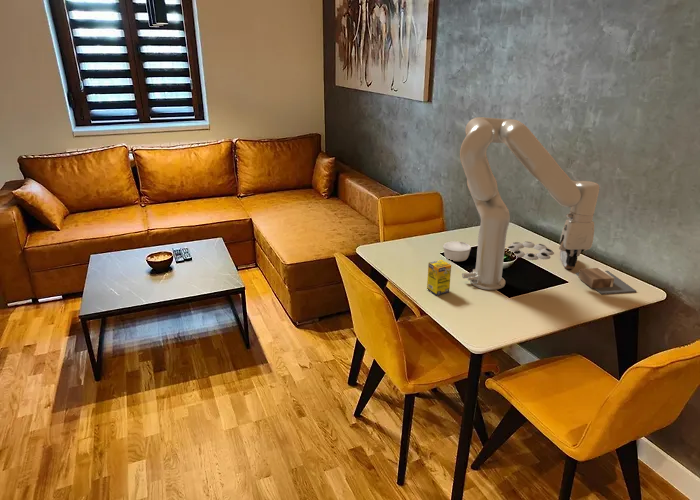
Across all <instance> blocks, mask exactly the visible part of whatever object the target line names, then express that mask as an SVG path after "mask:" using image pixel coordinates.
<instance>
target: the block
mask: <svg viewBox="0 0 700 500" xmlns="http://www.w3.org/2000/svg"><path fill="white" fill-rule="evenodd" d="M605 271H606V270H604V269H602V268H601V267H593V268H592V267H591V268H589V267H588V268H579V271H578V273H579V276H578V275H577V277H578V279H579V280H581V281H582V282H583V283H584V284H585V285H587V286H588V287H589V288H591V289H594V288H603V287H613V283H614V277H612V276H611V275H609V274H608V273H607V272H605Z"/></svg>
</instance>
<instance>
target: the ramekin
mask: <svg viewBox="0 0 700 500" xmlns="http://www.w3.org/2000/svg"><path fill="white" fill-rule="evenodd" d="M442 247H443V251H444V252H443V255H444V256H445V259H447V260H448V259H450V260H449V261H451V260H453V261H452V262H464V261H466V260H467V259H468V258H469V256H470V252H471V250H472V247H471V245H470V244H468V243H466V242H465V241H464V242H463V241H457V240H452V241H447V242H445V243H443V246H442Z"/></svg>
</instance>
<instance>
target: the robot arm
mask: <svg viewBox="0 0 700 500" xmlns="http://www.w3.org/2000/svg"><path fill="white" fill-rule="evenodd" d="M464 131H465V137H464V139H463V140H462V143H461V144H460V145H461V146H460V150H459V159H460V163H461V166H462V168H463V172H464V174H465V177H466V185H467V188H468V191H469V192H470V196H471V198H472V201H473V203H474V205H475V208H476V210H477V212H478V215H479V218H480V225H479V230H478V238H477V249H476V262H475V268H473V269H472V271H470V272H464V273H463V272H462V274H461V277H462V279H467V281H469V282H470V284H471V285H472V286H474V287H476V288H478V289H482V290H487V291H488V290H489V291H496V290H499V289H502V288H504V287H505V285H506V280H505V279H504V278H503V277H502V276H503V267H504V266H503V265H504V257H505V251H506V240H507V235H508V234H507V233H508V229H509V225H510V220H511V219H510V217H511V216H510V214H511V213H510V212H509V209H508V207H507V204H506V203H505V202H504V201H503V199H502V197H501V194H500V192H499V188H498V182H497V179H496V177H495V176H494V174H493V171H492V168H491V165H490V163H489V159H488V157H487V150H488V147H489V146H490V145H491V143H492V144H494V143H495V144H505V146H506V147H507V148H508V149H509V150H510V151H511V152H512V154H513V155H514V157H516V159H517V160H518V161H519V162H520V163H521V164H522V166H524V168H525V169H526V170H527V171H528V173H529V174H530V175H532V176H533V177H534V178H535V180H537V181H538V182H539V183H541V184H542V185H543V187H544V188H545V190H547V191H548V193H549V195H550V196H551V198H552V199H554V200H555V202H557V203H558V204H559V206H561V207H564V208H570V210H569V213H567V214H566V215H565V217H566V220H565V223H564V225H563V228H562V231H561V233H560V238H559V246H558V247H559V248H558V249H559V250H561V251H565V252H566V253H567V254H568V255H567V259H566V264H567V265H569V266H570V267H572V266H573V268H575V267H576V264H577V261H578V257H579V256H580V255H581V253H583V252H585V251H589V250H590V249H591V248H592V246H593V243H594V237H595V221H593V219H594V215H595V210H596V206H597V201H598V198H599V197H598V196H599V193H600V192H599V191H600V185H599V184H598V183H597V182H594V181H589V180H580V181H579V180H572V179H571V178H570V176H568V174H567V173H566V172H565V171H564V170H563V169H562V168H561V166H560V165H559V164H558V163H557V161H556V160H555V158H554V157H553V156H552V155H551V154H550V152H549V151H548V150H547V149H546V148H545V147H544V145H543V144H542V143H541V142H540V141H539V140H538V139H537V137H536V136H535V135H534V133H533V132H532V131H531V130H530V129H529V127H528V126H527V125H525V124H524V123H523V122H521V121H520V120H517V119H514V118H513V119H512V118H497V117H496V118H495V117H485V116H484V117H482V116H478V117H474V118H472V119H470V120H469V121H468V122H467V124H466V125H465V129H464Z"/></svg>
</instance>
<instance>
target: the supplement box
mask: <svg viewBox="0 0 700 500" xmlns="http://www.w3.org/2000/svg"><path fill="white" fill-rule="evenodd" d="M427 266H428V267H427V284H426V290H427V289H428V290H429V292H430V291H431V292H432V293H431V292H430V293H431V294H433V295H434V294H435V295H434V296H435V297H436V296H437V295H438V296H440V295H444V294H448V293H450V288H451V287H450V286H451V277H452V274H451V273H452V265H451V264H450V263H449V262H446V261H445V260H443V259H438V260H435V261H429V262H428V265H427ZM428 290H427V291H428Z"/></svg>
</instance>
